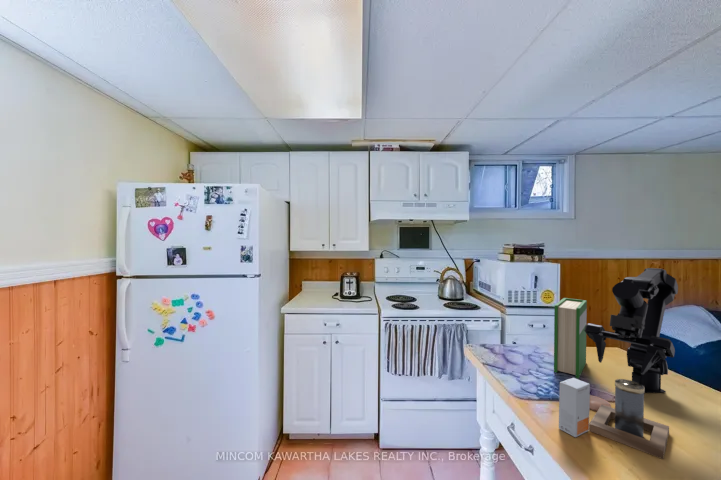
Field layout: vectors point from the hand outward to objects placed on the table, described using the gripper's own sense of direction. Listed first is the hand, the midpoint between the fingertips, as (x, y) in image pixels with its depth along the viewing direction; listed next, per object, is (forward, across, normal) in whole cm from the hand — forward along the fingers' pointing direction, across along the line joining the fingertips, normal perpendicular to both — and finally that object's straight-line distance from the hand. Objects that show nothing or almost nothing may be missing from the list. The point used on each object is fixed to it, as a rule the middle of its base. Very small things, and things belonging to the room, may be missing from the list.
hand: (620, 367), depth 86 cm
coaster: (+10, -6, +8) cm, 14 cm away
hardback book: (-4, -21, +27) cm, 34 cm away
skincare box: (+21, -4, -6) cm, 23 cm away
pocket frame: (+15, +4, +2) cm, 16 cm away
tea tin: (+15, +4, +2) cm, 16 cm away
